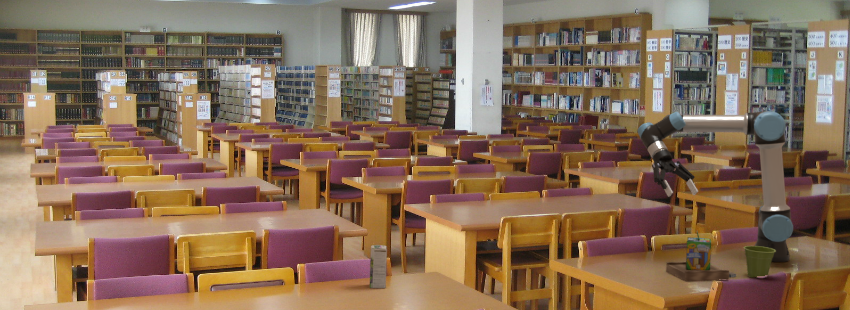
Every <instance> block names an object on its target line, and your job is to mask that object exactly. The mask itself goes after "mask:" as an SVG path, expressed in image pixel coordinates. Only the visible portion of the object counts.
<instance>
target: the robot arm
mask: <svg viewBox="0 0 850 310" xmlns="http://www.w3.org/2000/svg"><path fill="white" fill-rule="evenodd" d="M786 126H787V125H786V121H785V119H784V117H783V116H782V115H781V114H779V113H778V112H776V111H772V110H763V111H755V112H745V113H744V114H680V112H679V111H675V112H673V113H671V114H667V115H665V116H664V117H663V118H662V119H661V120H660V121H657V122H656V123H652V122H646V123H642V124H641V125H640V126H639V127H638V128H637V134H638V136H639V138H640V140H641V142H642V144H643V145H644V147H645V148H646V150H647V152H648V153H649V155H650V157H651V158H652V161H653V163H652V164H651V167H652V171H653V181H654V183H657V185H658V186H660V187H661V189H663V190H664V191H665V194H666V196H667V197H671V196H672V195H673V194H674V191H673V190H672V188H671V186H670V184H669V183H668V181H667V180H666V179H665V176H666V174H668V173H671V174H673V175H676V176H678V177H679V178H680V179H682V180H684V181H685V183H686V185H687V187H688V189H689V191H690V192H691V194H692V195H693V196H696V195H697V193H698V192H699V190H698V188H697V187H696V184H695V182H694V179H695V176H694V174H692V173H691V171H689V170H688V169H687V168H686V167H685V166H684V165H683V164H682V163H681V162H680V161H679V160H677V161H676V162H674V161H673V156H672V154H671V152H670V151H669V150H668V147H667V146H666V144H665V142H664V141H663V140H664V139H666V138H667V137H669V136H672V135H673V134H675V133H689V132H690V133H743V134H744V135H746V136H754V144H755V145H754V146H756V147H758V149H759V158H760V159H759V160H760V172H761V182H762V183H761V187H762V198H763V199H762V200H763V205H760V207H759V209H758V210H759V211H758V222H757V223H758V225H757V240H756V242H755V244H754V246H761V247H768V248H772V249H774V250H776V252H774V255H773V258H772V261H771V263H772V262H776V263H783V262H789V261H790V256H791V255H790V252H789V251H790V250H789V247H788V243H787V240H788V239H789V238H790V237H791V236H792V234H793V232H794V224H793V222H792V216H791V215H792V214H791V213H792V212H791V207H790V206H789V205H788V204H787V200H786V189H785V188H786V187H785V173H784V159H783V150H782V149H783V148H782V147H783V146H784V145H785V144H786V133H785V131H786V128H787V127H786Z"/></svg>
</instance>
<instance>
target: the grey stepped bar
mask: <svg viewBox="0 0 850 310" xmlns="http://www.w3.org/2000/svg"><path fill="white" fill-rule="evenodd" d="M731 277H732V278H736V277H737V273H736V272H735V273H734V272H730V271H729V278H731Z"/></svg>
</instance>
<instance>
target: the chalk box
mask: <svg viewBox="0 0 850 310" xmlns="http://www.w3.org/2000/svg"><path fill="white" fill-rule="evenodd" d="M696 234H697V237H687V240H686V252H685V253H686V257H685V262H686V270H710V265H711V260H712V259H711V258H712V240H711V238H705V237H704V238H703V237H700V236H699V232H698V230H696Z"/></svg>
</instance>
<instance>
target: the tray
mask: <svg viewBox="0 0 850 310" xmlns="http://www.w3.org/2000/svg"><path fill="white" fill-rule="evenodd" d="M665 272H667V273H668V274H670V275H672V276H674V277H677V278H678V279H680V280H682V281H684V282H705V281H707V282H708V281H711V282H712V280H717V281H720V280H719V279H729V280H730V277H729V272H730V270H729V269H722V268H720V267H717V266H715V265H713V264H710V270H686V261H667V262H666V265H665Z"/></svg>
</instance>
